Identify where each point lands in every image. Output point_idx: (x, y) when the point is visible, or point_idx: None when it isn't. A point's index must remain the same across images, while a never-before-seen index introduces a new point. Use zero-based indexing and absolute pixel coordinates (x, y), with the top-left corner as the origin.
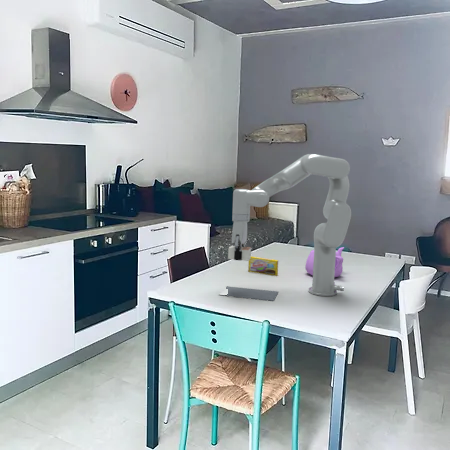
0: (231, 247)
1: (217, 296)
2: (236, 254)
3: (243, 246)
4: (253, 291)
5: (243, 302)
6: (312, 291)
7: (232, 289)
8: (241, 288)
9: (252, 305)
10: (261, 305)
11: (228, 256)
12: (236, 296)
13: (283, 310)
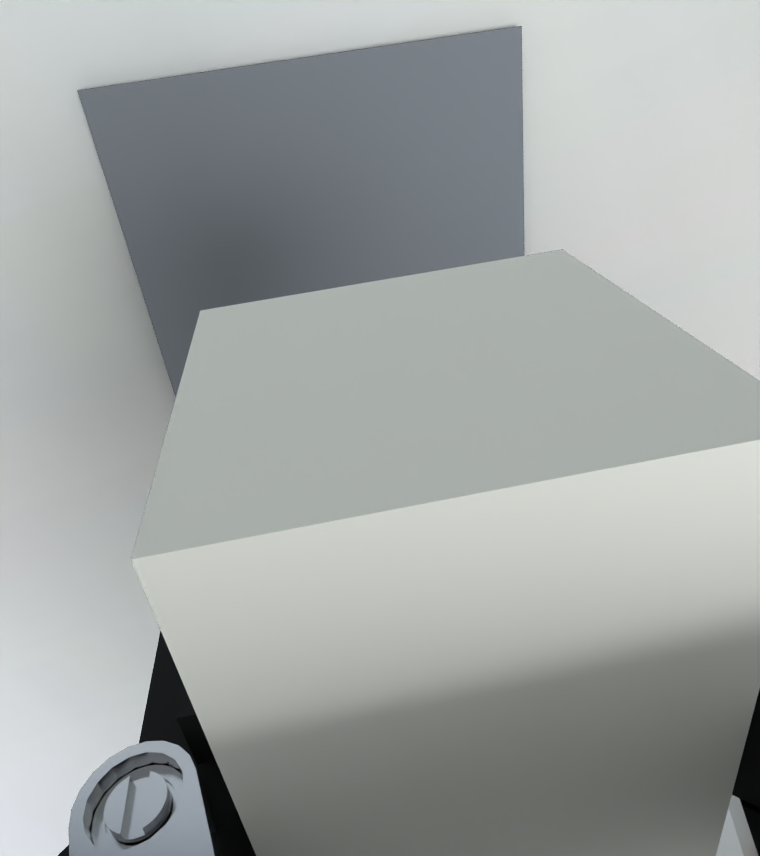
0: (352, 622)
1: (28, 98)
2: (159, 690)
3: (750, 840)
4: None
5: (41, 456)
6: None
7: (401, 172)
8: (492, 256)
9: (18, 551)
10: (77, 602)
11: (191, 355)
12: (155, 332)
13: (79, 742)
